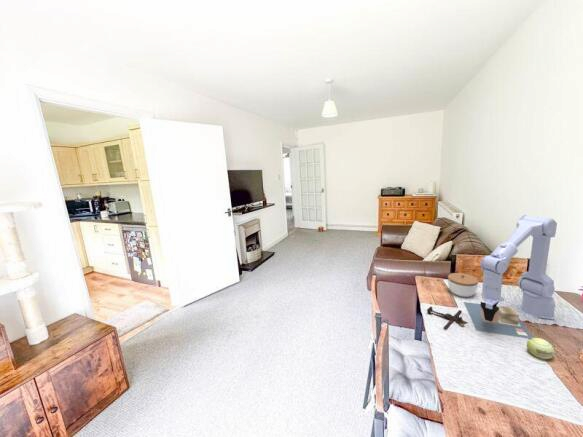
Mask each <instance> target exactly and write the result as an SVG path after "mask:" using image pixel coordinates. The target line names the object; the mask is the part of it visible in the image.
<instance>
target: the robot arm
mask: <svg viewBox="0 0 583 437" xmlns="http://www.w3.org/2000/svg"><path fill="white" fill-rule="evenodd" d="M557 225H558V223H557V221H556V220H555V219H554V218H550V217H549V218H548V217H539V216H532V215H531V216H530V215H527V214H524V215H521V216H519V218H518V220H517V222H516V229H515V230H514V231H513V233H512V234H511V235H510V237H508V239H507V241H506V242H500V244H498V246H497V247H496V248H495V249H494V250H493V251H492V252H491V253H490V255H485V256H483V257H482V259H481V261H480V268H481V272H482V274H483V275H482V276H483V278H482V291H481V298H482V299H483V301H484V302H483V301H481V302H479V304H480V305H481V307H482V309H483V312H484V317H485V320H487V321H491V322H492V320H493V318H494V315H495V313H496V312H497V311H498V310H499V307H496V306H498V304H499V302H505V299H506V298H505V297H503V296H502V288H503V287H502V285H503V274H505V273H506V272H507V269H508V267H509V265H510V261H511V260H512V259H513V258H514V257H515V255H516V254H517V253H518V247H519V246H520V245H521V244H523V243H524V242H525V241H526V240H527V239H528V238H529V237H530V236H531V237H532V244H531V251H530V258H529V263H528V264H529V266H528V271H526V272H525V271H524V272H522V273H521V274H520V278H519V280H518V282H517V284H518V287H519V289H521V292H522V299H521V300H522V301H521V305H517V307H518V309H519V310H520V311H521V312H522V314H524V316H529V317H536V318H537V319H545V320H546V319H547V320H552V321H553V320H554V321H555V317H554V314H555V308H556V302H555V299H554V297H553V295H554V293H555V291H556V290H555V285H554V284H555V283H554V281H555V280H553V279H552V278H551V277H550V276H549V275H548V274H546V271H547V266H548V259H549V251H550V245H551V238H555V237H556V234H557Z"/></svg>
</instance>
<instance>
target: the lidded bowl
mask: <svg viewBox="0 0 583 437" xmlns="http://www.w3.org/2000/svg"><path fill="white" fill-rule="evenodd" d="M447 283H448V288H449V290H450V291H451V292H452V293H453V294H454V295H456V296H458V297H462V298H463V297H464V298H468V297H472V296H474V295H475V293H476V292H477V290H478V286H479V285H478V284H479V280H478V278H477V277H476V276H473V275H471V274H469V273H463V272H451V273H450V274H448V275H447Z"/></svg>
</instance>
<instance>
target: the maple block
mask: <svg viewBox="0 0 583 437" xmlns="http://www.w3.org/2000/svg"><path fill="white" fill-rule="evenodd" d="M497 307H499V310H498V312H499V320H500V322H501V323H508V324H515V325H518V322H519V319H520V314H519V313H518V312H517V310H516V309H515V307H511V306H502V305H497Z"/></svg>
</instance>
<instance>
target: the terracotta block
mask: <svg viewBox="0 0 583 437" xmlns="http://www.w3.org/2000/svg"><path fill="white" fill-rule="evenodd" d="M481 316H482V318H483V320H484V321H485V322H491V321H487V320H485V317H484V312H483V309H482V307H481ZM498 320H499V312H498V311H497V312H496V313H495V315H494V318H493V320H492V323H498Z"/></svg>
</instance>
